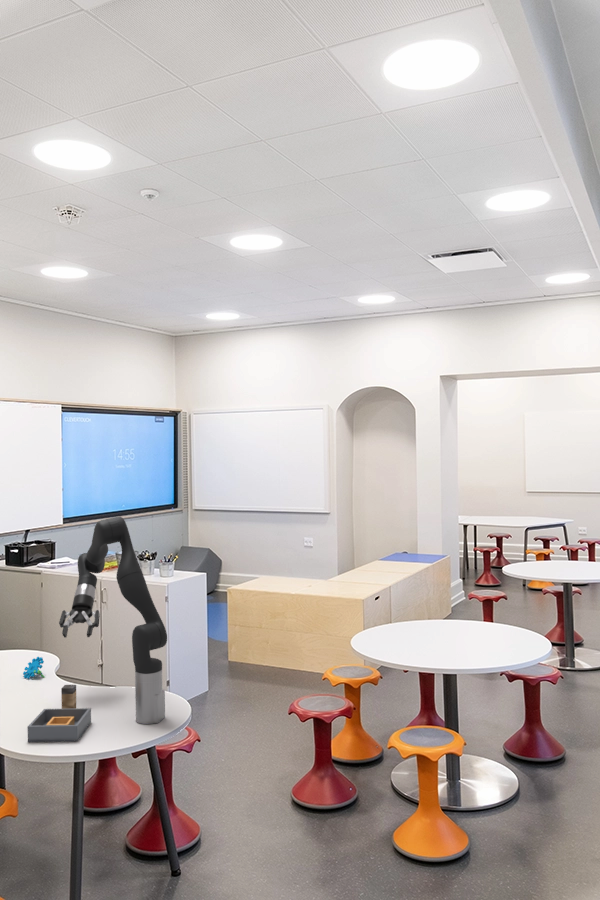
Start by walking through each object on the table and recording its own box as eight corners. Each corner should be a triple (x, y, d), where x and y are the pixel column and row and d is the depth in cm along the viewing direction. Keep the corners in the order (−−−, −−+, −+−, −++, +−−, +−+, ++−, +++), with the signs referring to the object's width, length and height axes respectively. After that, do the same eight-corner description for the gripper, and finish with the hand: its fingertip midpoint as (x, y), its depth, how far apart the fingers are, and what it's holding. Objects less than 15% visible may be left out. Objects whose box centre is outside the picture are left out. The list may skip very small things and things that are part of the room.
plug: (76, 712, 264) (76, 684, 264) (73, 716, 260) (72, 688, 260) (65, 712, 264) (64, 684, 264) (61, 716, 260) (61, 688, 260)
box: (91, 722, 254) (90, 708, 254) (77, 741, 238) (77, 725, 238) (44, 723, 254) (44, 708, 254) (27, 742, 238) (27, 726, 238)
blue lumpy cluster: (18, 671, 307) (36, 652, 311) (28, 679, 311) (45, 659, 314) (27, 681, 299) (45, 661, 303) (37, 689, 302) (55, 669, 306)
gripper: (63, 593, 281) (54, 631, 270) (101, 593, 282) (94, 630, 271) (67, 604, 287) (59, 641, 276) (104, 603, 287) (97, 641, 276)
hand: (76, 636), depth 273 cm, fingers open, 8 cm apart
